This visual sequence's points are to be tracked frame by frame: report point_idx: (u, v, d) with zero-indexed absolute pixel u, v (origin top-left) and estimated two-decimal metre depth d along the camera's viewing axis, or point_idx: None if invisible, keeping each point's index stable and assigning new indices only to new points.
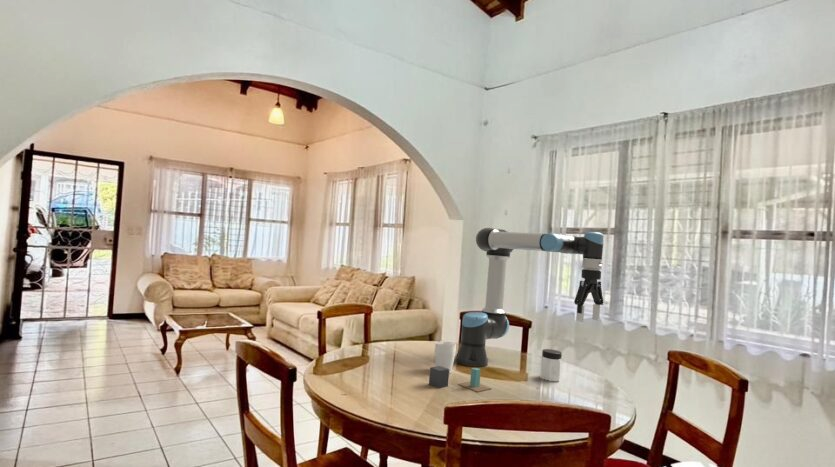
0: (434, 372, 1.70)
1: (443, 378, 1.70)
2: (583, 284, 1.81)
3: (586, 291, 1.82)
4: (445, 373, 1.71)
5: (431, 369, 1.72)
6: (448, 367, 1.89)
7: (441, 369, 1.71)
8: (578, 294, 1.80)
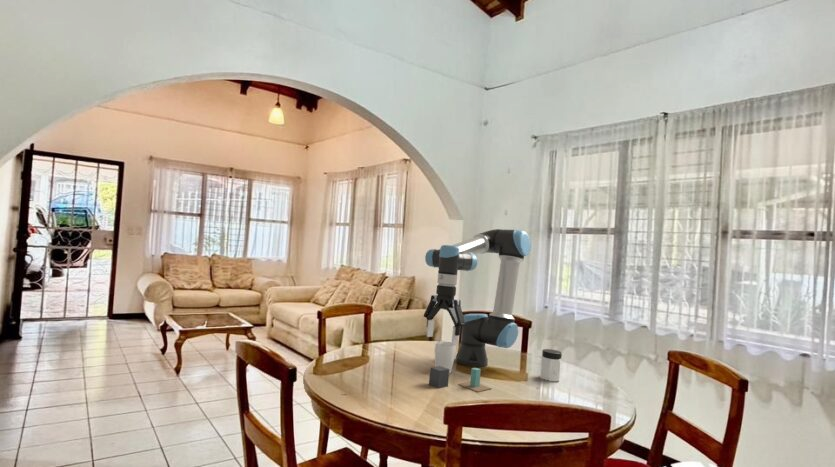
0: (434, 372, 1.70)
1: (443, 378, 1.70)
2: None
3: None
4: (445, 373, 1.71)
5: (431, 369, 1.72)
6: (448, 367, 1.89)
7: (441, 369, 1.71)
8: None
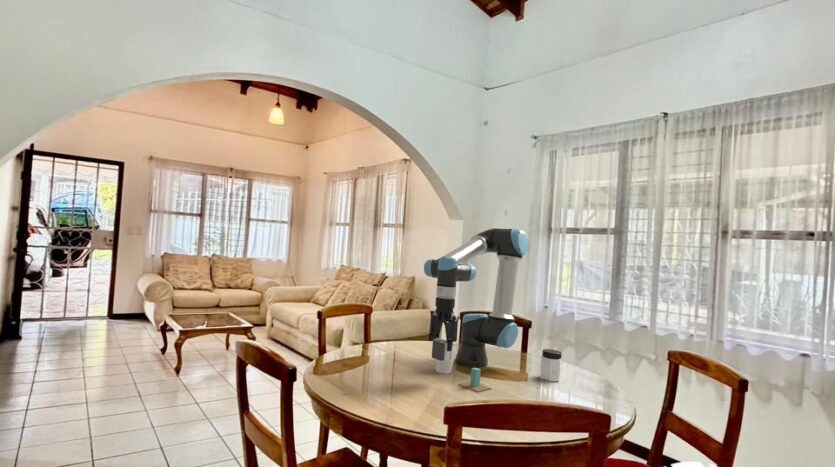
0: (437, 345, 1.71)
1: None
2: None
3: None
4: None
5: (434, 342, 1.72)
6: (448, 367, 1.89)
7: (444, 342, 1.71)
8: None
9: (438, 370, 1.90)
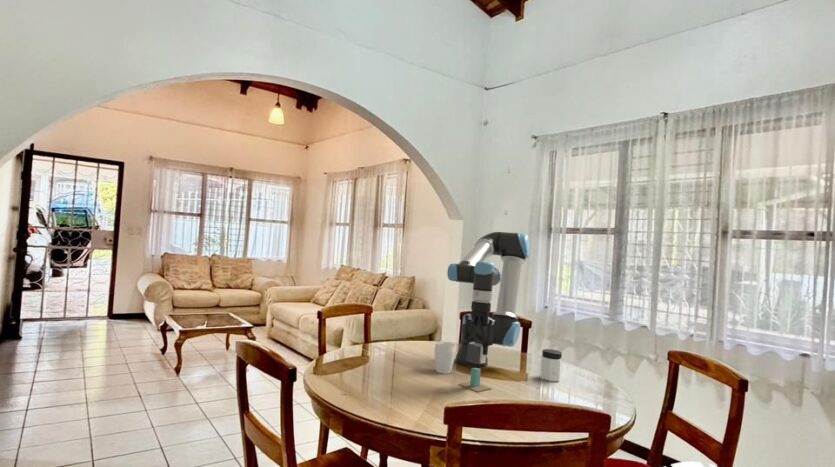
0: (472, 348, 1.73)
1: None
2: None
3: None
4: None
5: (469, 345, 1.74)
6: (448, 367, 1.89)
7: (479, 345, 1.73)
8: None
9: (438, 370, 1.90)
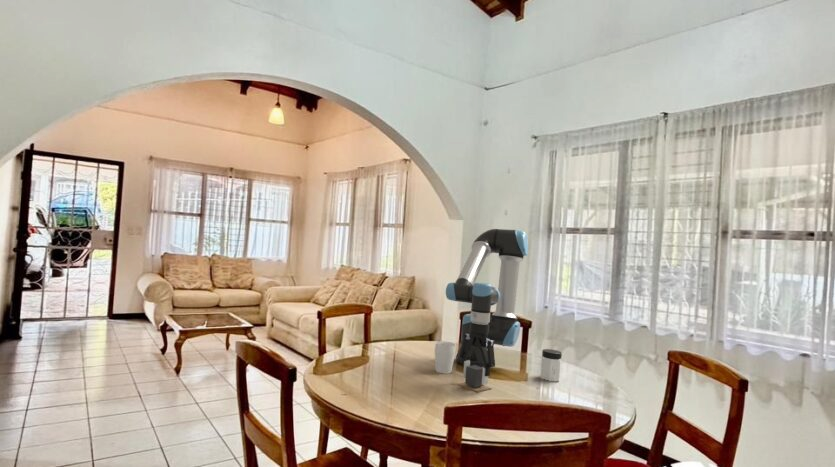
0: (471, 371, 1.72)
1: (479, 377, 1.72)
2: None
3: None
4: (481, 372, 1.73)
5: (467, 368, 1.74)
6: (448, 367, 1.89)
7: (477, 368, 1.73)
8: None
9: (438, 370, 1.90)
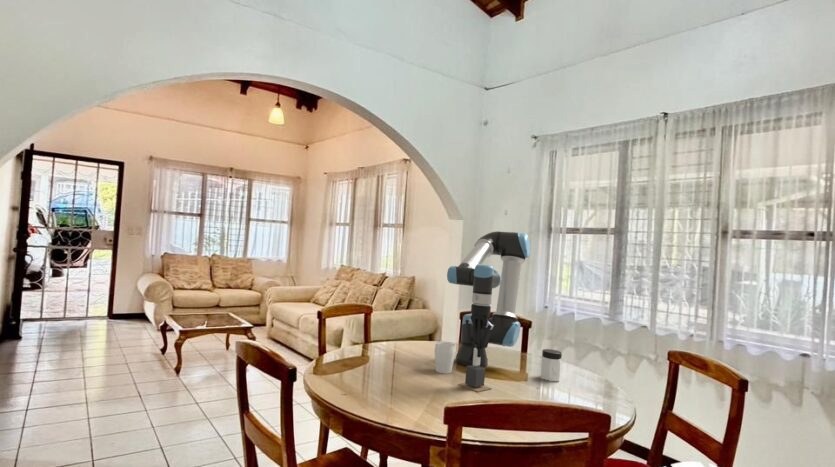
0: (471, 371, 1.72)
1: (479, 377, 1.72)
2: None
3: None
4: (481, 372, 1.73)
5: (467, 368, 1.74)
6: (448, 367, 1.89)
7: (477, 368, 1.73)
8: None
9: (438, 370, 1.90)
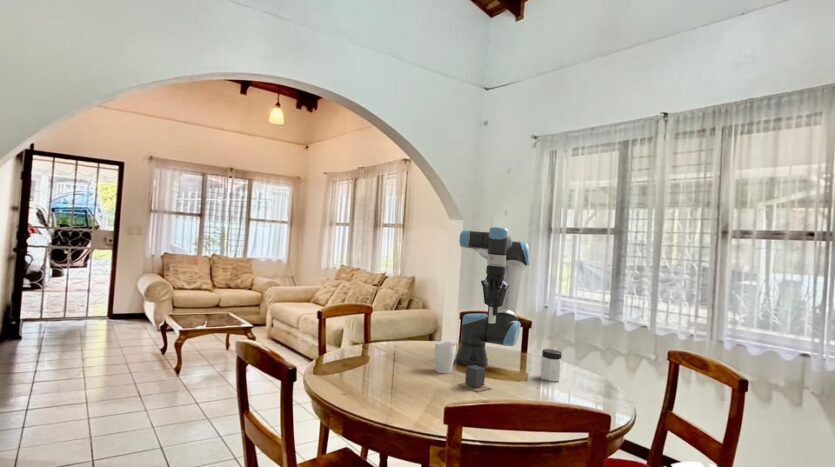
0: (471, 371, 1.72)
1: (479, 377, 1.72)
2: None
3: None
4: (481, 372, 1.73)
5: (467, 368, 1.74)
6: (448, 367, 1.89)
7: (477, 368, 1.73)
8: None
9: (438, 370, 1.90)
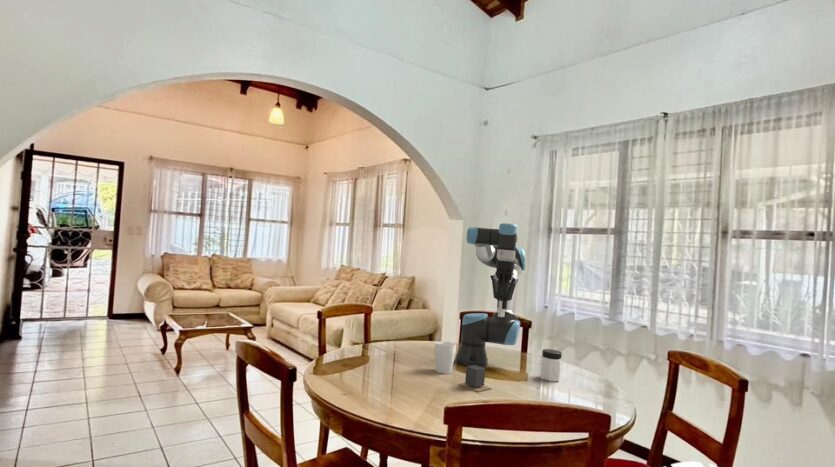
0: (471, 371, 1.72)
1: (479, 377, 1.72)
2: None
3: None
4: (481, 372, 1.73)
5: (467, 368, 1.74)
6: (448, 367, 1.89)
7: (477, 368, 1.73)
8: None
9: (438, 370, 1.90)
